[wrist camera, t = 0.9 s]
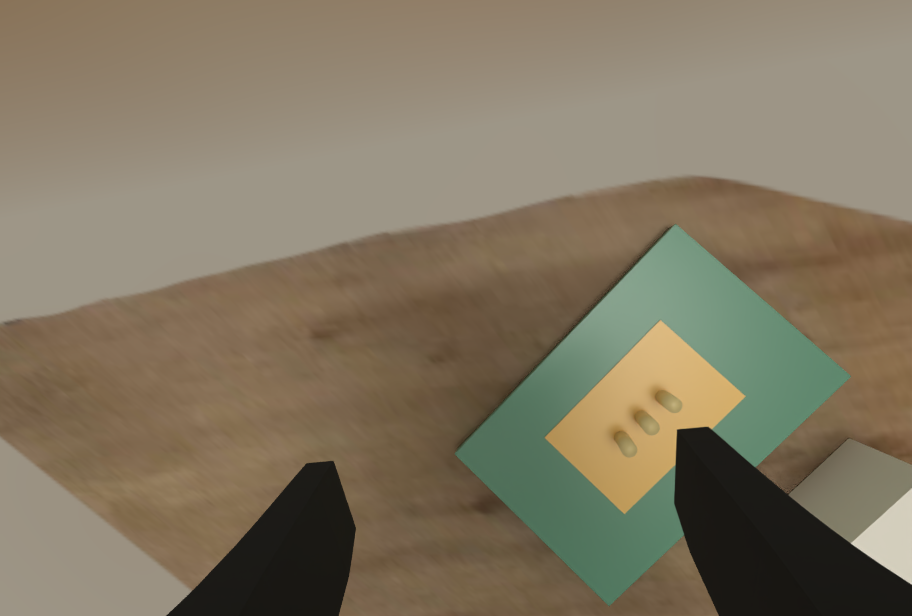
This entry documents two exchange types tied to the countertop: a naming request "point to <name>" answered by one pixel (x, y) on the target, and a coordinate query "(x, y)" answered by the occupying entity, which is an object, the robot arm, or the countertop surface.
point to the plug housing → (864, 503)
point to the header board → (644, 409)
